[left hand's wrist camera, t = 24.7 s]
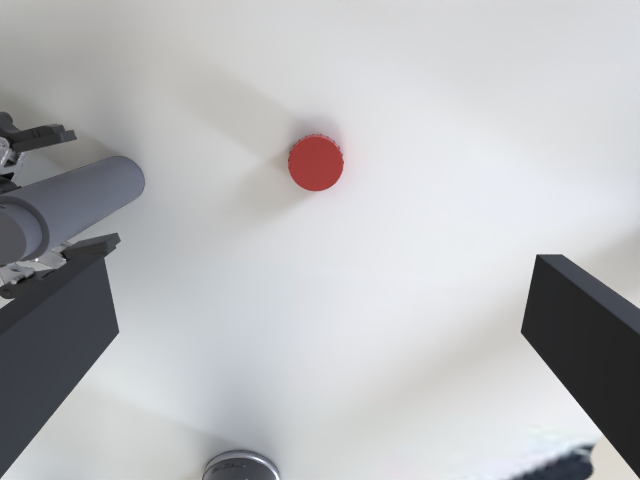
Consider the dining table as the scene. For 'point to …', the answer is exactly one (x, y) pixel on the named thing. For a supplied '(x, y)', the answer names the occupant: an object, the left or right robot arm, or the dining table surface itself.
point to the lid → (315, 162)
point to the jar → (64, 206)
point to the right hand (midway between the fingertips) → (93, 190)
